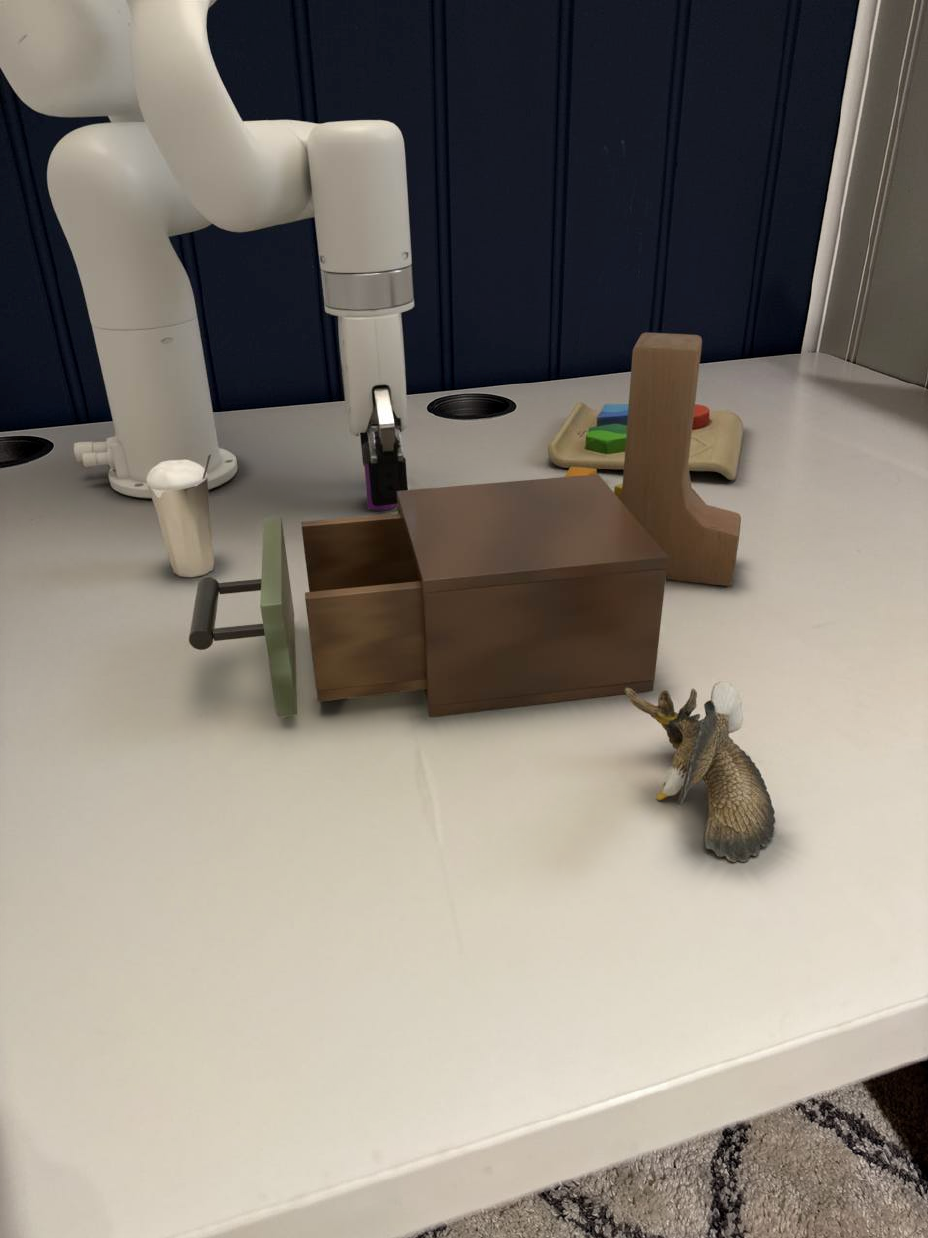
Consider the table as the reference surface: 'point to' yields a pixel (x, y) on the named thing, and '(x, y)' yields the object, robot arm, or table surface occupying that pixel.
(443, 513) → the cabinet
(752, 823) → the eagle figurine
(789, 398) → the table surface
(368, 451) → the glue stick
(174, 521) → the milkshake
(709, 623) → the table surface
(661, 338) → the wooden block
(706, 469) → the shape puzzle
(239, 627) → the drawer
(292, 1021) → the table surface
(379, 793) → the table surface
